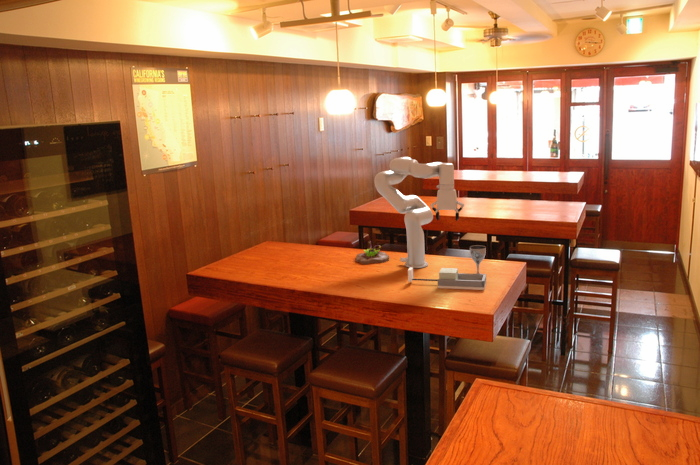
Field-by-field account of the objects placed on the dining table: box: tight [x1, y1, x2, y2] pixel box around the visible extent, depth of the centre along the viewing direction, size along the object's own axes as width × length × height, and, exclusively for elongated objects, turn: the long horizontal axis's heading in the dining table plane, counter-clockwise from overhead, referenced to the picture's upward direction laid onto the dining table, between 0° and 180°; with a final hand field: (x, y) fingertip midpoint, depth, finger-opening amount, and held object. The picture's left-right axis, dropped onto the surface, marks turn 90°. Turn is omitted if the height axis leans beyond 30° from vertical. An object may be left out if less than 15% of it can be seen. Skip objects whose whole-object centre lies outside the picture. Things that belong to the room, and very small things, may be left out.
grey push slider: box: [407, 267, 459, 283], centre depth 281 cm, size 24×8×6 cm, turn 72°
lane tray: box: [437, 272, 487, 291], centre depth 277 cm, size 22×12×4 cm, turn 72°
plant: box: [354, 240, 390, 265], centre depth 334 cm, size 20×20×11 cm
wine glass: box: [469, 244, 487, 274], centre depth 290 cm, size 8×8×15 cm
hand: (447, 220), depth 294 cm, fingers open, 9 cm apart
